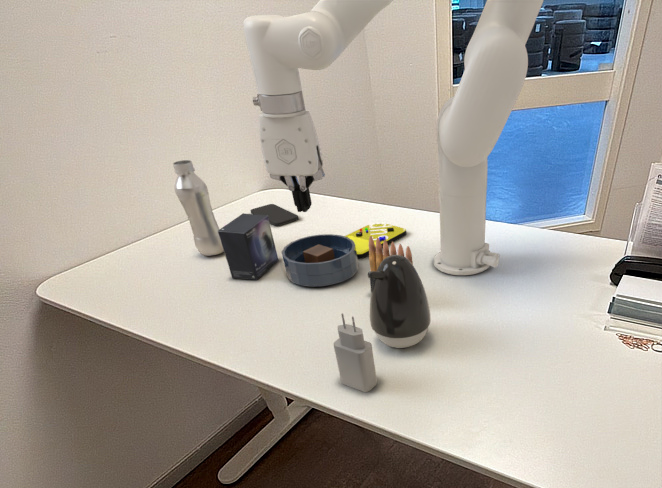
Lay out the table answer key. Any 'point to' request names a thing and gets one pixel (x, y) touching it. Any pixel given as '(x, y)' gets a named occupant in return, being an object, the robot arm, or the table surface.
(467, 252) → the robot arm
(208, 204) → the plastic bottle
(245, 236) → the small box
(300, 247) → the bowl
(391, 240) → the yellow toy board
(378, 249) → the ammunition clip
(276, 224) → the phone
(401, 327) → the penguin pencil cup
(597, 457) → the table surface
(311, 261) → the block
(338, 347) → the power adapter
